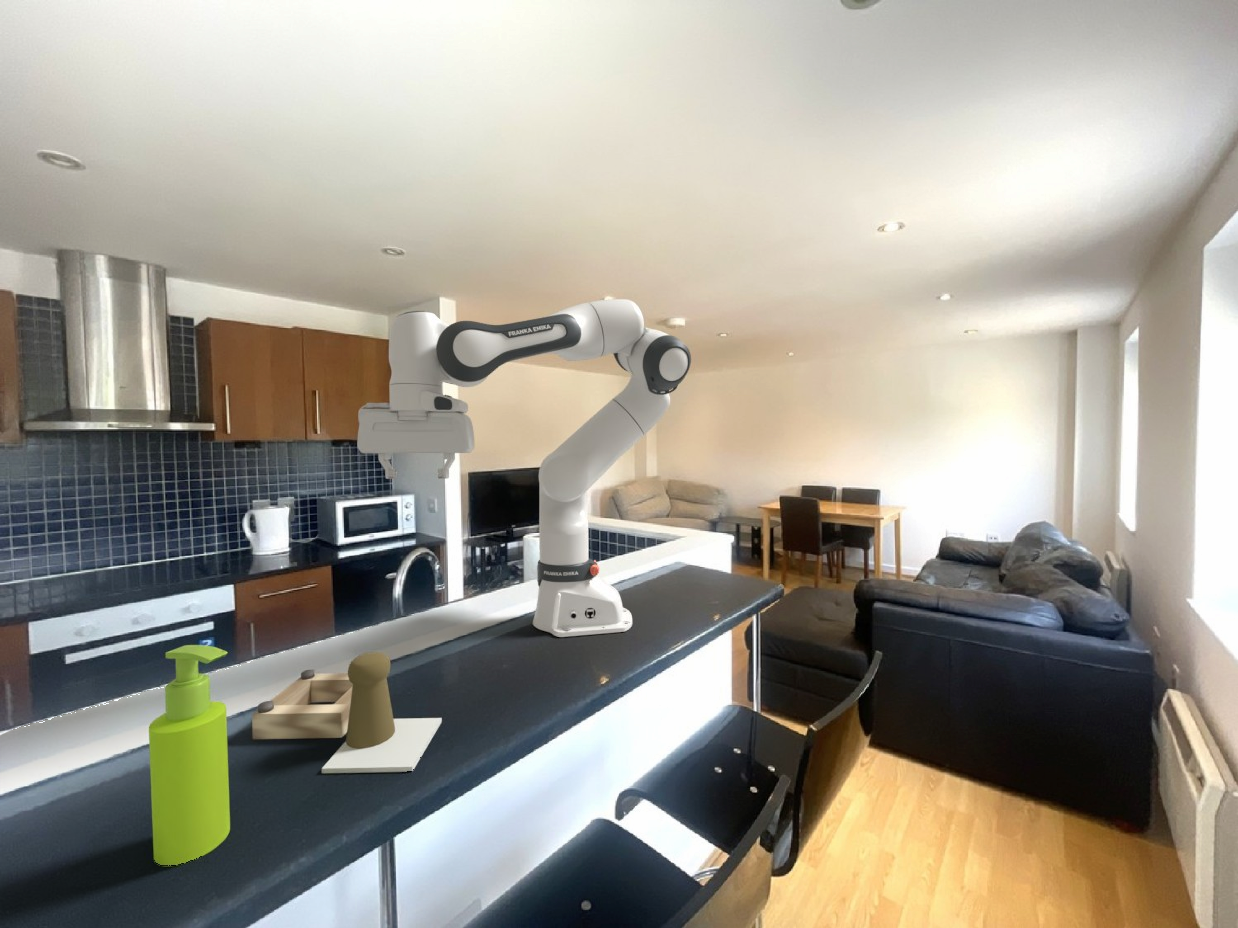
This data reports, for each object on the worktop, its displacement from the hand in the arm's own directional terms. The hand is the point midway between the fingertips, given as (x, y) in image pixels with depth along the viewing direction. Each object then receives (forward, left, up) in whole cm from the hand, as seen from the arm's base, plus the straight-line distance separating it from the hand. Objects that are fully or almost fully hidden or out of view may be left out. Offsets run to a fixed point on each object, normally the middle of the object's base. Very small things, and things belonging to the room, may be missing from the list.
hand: (417, 478), depth 91 cm
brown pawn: (-2, +25, -34) cm, 42 cm away
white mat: (-5, +26, -34) cm, 43 cm away
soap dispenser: (+7, +42, -34) cm, 55 cm away
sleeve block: (+8, +18, -34) cm, 39 cm away
